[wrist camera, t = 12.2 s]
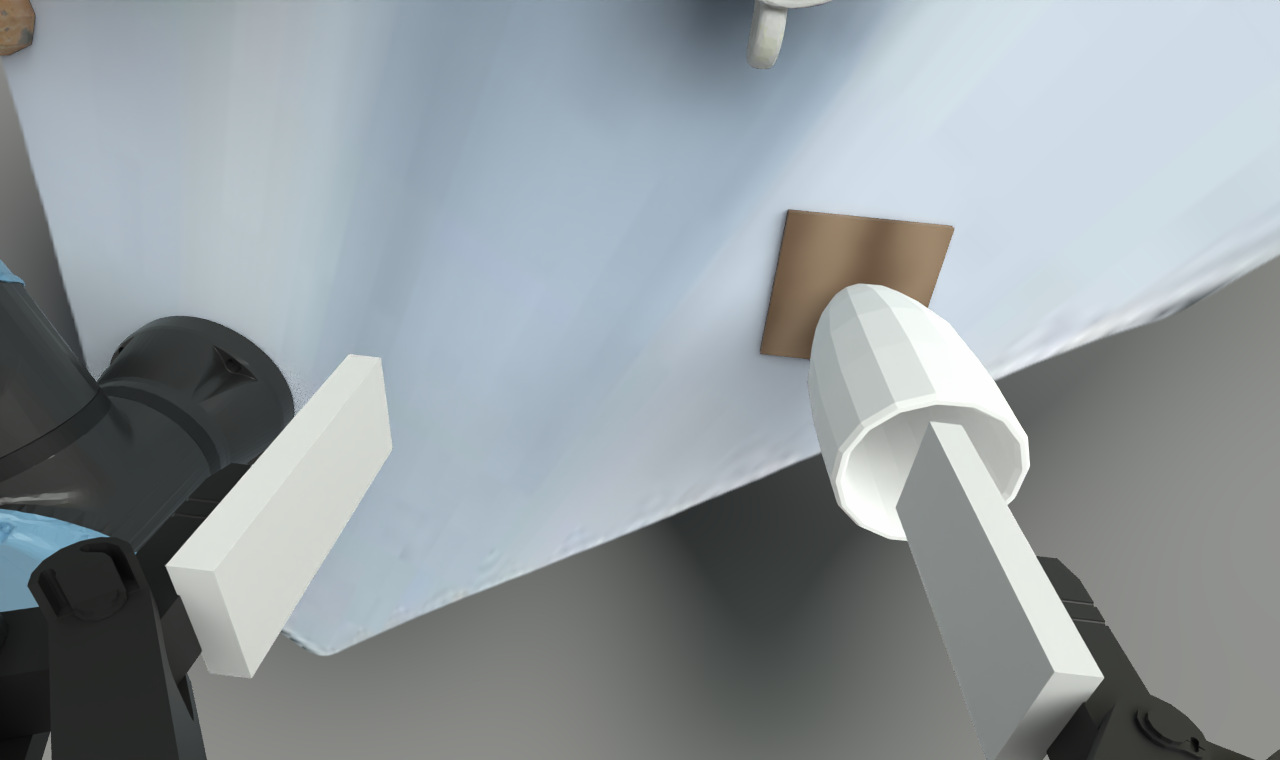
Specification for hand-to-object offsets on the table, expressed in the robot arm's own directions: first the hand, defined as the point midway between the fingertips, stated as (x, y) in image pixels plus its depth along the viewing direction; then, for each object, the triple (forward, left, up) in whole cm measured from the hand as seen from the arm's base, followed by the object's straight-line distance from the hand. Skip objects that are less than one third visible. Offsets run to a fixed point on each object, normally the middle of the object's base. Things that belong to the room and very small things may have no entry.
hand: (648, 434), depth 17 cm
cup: (+14, -11, -36) cm, 40 cm away
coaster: (+14, -11, -36) cm, 41 cm away
